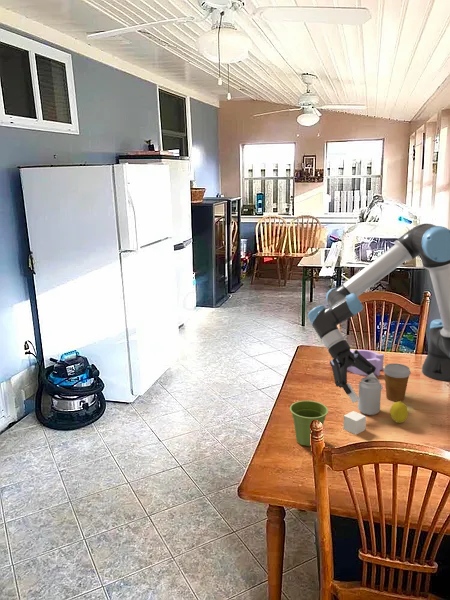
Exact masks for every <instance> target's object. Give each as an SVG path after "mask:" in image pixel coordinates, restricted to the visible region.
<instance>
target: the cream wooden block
mask: <svg viewBox="0 0 450 600" xmlns="http://www.w3.org/2000/svg"><path fill="white" fill-rule="evenodd" d="M366 417H367V416H366V415H365V414H363V413H359V412H357V411H356V410H352V411H350V412H348V413H347V414H345V415H343V426H342V428H343V429H342V430H344V431H347V432H349V433H351V434H353V435H355V436H356V434H357V435H359V434H360V433H362V432H364V431H366V420H367V418H366Z"/></svg>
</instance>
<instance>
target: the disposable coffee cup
mask: <svg viewBox="0 0 450 600" xmlns="http://www.w3.org/2000/svg"><path fill="white" fill-rule="evenodd" d="M382 371H383V373H384V381H385V394H386V399H388V400H389V401H392V402H399V401H401V402H403V401H404V400H405V397H406V393H407V392H406V391H407V386H408V381H409V377H410V375H411V373H412V372H411V370H410V367H409V366H407V365H406V364H401V363H395V362H394V363H388V364H386V365H384V367H383V370H382Z"/></svg>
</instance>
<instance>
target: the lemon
mask: <svg viewBox="0 0 450 600" xmlns="http://www.w3.org/2000/svg"><path fill="white" fill-rule="evenodd" d="M389 413H390V417H391V419H392V420H393V421H394V422H396V423H397V424H401V423H403V422H405V421H406V420H407V419H408V415H409V411H408V406H407V405H406V404H405V403H404V402H403V401H394V403H392V405H391V407H390V412H389Z"/></svg>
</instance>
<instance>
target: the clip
mask: <svg viewBox="0 0 450 600" xmlns="http://www.w3.org/2000/svg"><path fill="white" fill-rule="evenodd" d="M355 350H357V351H358V352H359V353H360V354H361V355H362V356H363V357H364V358H365V359H366V360H368V361H369V362H370V363H371V364H372V365H373V366H375V367H376V369H375V371H374V374H375V375H376V377H379V376H381V371H383V370H384V356H385V355H384V354H383V353H378V352H376V351H374V350H368V349H350V351H351V352H352V353H353V352H354V351H355ZM333 359H334V358H332V360H333ZM354 362H355V361H354ZM347 372H350V373H352V374H355V375H359V376H364V377H367V376H368V374H366V373H364V372H363V371H361V370H359V369H358V368H356V367H353V366H351V367H348V368H347Z"/></svg>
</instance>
